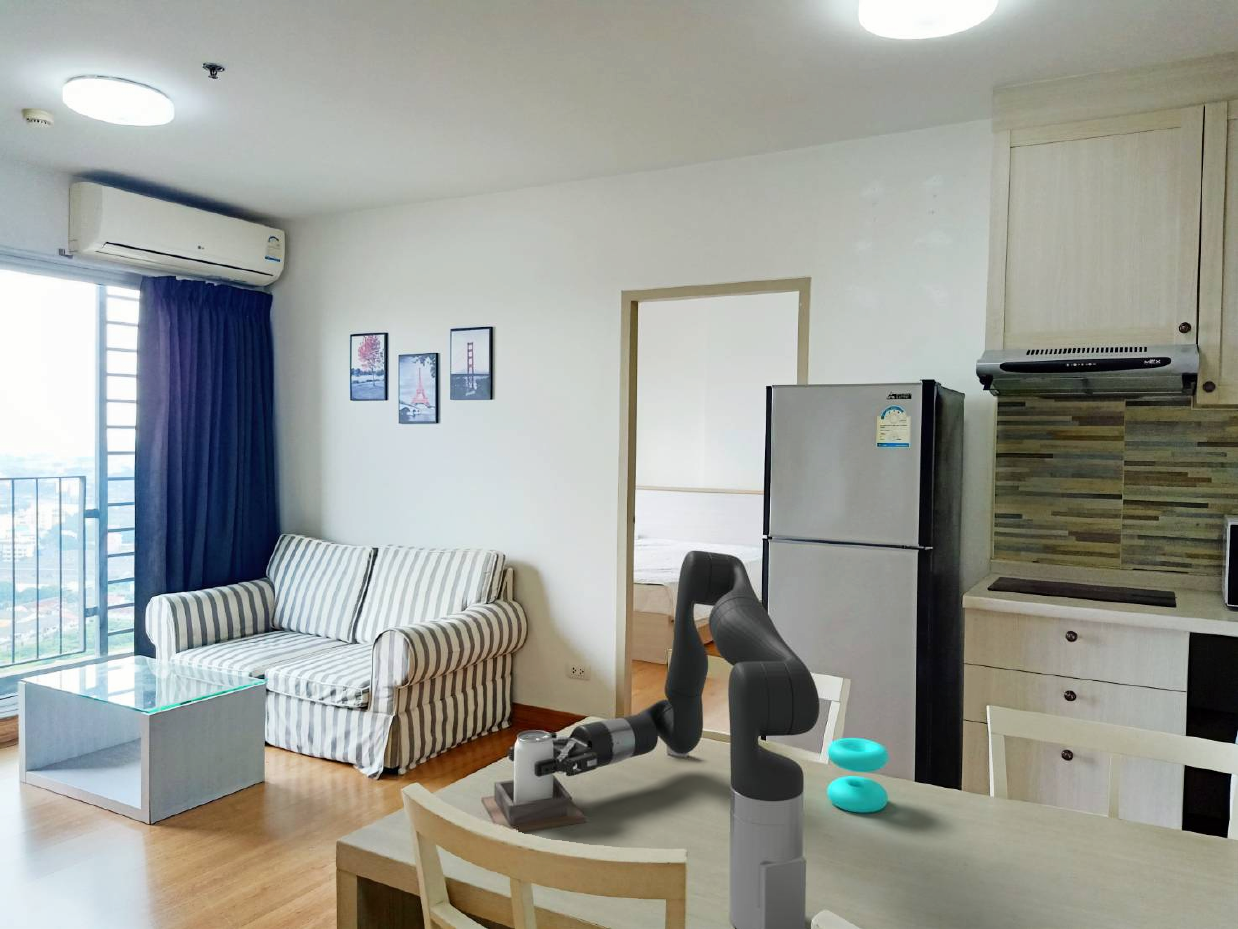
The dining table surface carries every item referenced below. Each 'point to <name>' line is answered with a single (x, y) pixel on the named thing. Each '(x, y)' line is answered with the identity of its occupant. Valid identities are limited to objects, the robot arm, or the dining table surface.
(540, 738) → the can
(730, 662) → the robot arm
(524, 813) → the can stand
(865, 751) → the donuts
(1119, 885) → the dining table surface
